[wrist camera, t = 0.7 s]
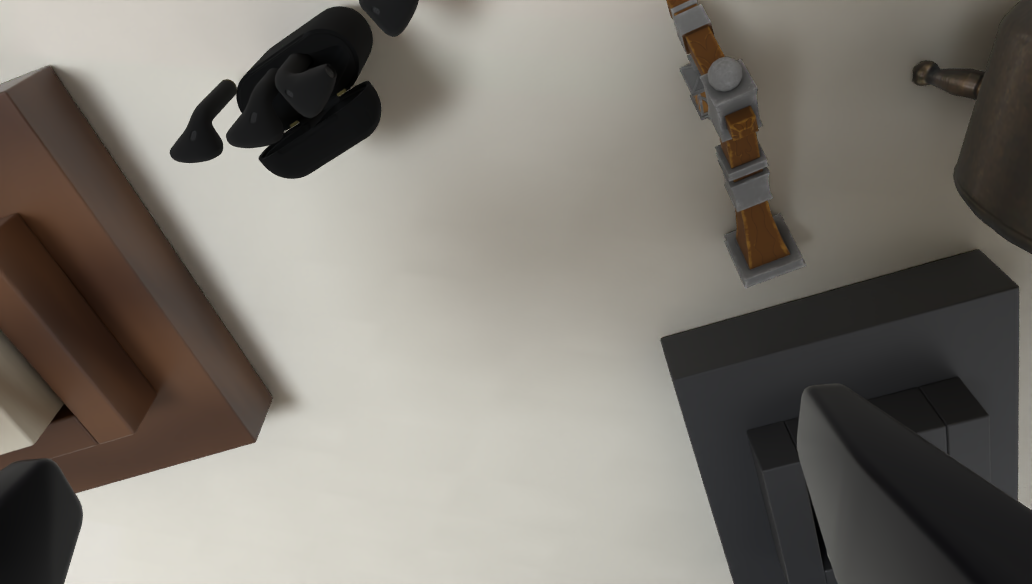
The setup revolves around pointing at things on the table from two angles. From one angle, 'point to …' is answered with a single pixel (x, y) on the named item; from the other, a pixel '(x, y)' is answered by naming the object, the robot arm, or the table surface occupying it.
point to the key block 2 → (862, 368)
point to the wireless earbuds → (301, 94)
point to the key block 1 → (107, 306)
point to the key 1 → (22, 400)
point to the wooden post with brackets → (735, 148)
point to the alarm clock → (996, 129)
